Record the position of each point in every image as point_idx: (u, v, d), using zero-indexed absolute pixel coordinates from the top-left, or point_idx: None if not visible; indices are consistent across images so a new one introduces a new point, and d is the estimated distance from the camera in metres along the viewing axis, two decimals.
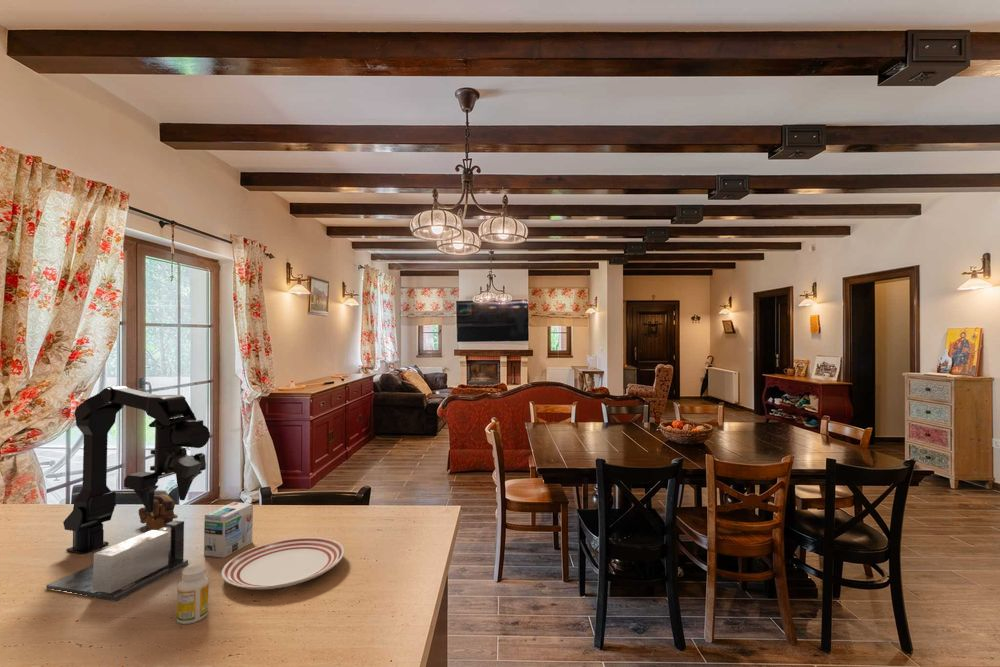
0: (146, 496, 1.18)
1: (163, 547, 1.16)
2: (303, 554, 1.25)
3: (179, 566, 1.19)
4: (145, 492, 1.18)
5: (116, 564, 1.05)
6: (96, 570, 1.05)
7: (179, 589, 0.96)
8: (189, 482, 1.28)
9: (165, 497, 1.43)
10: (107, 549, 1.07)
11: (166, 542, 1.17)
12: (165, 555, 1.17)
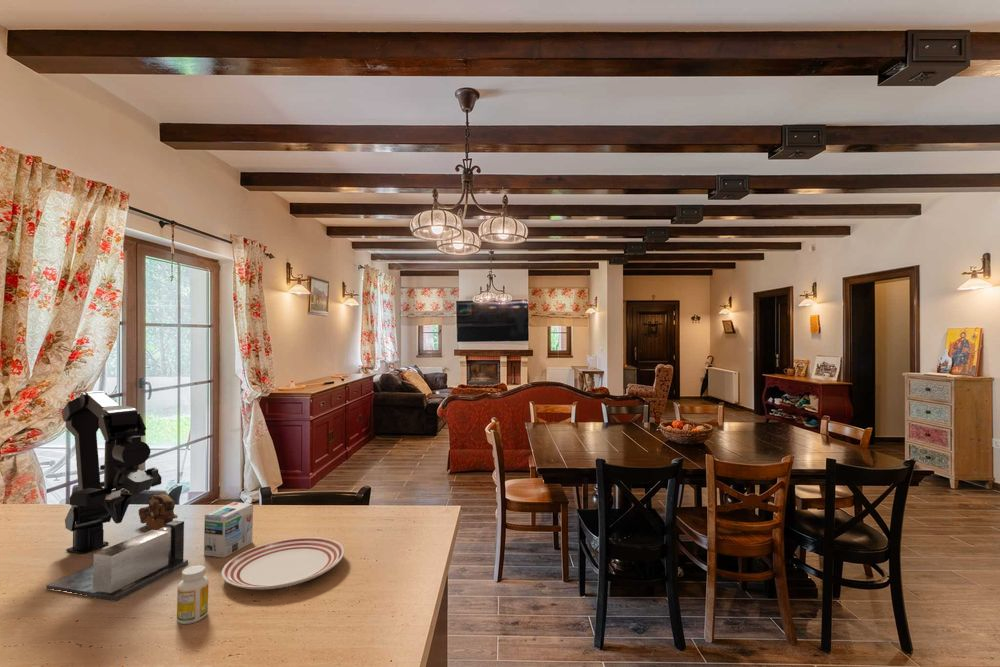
0: (113, 507, 1.18)
1: (163, 547, 1.16)
2: (303, 554, 1.25)
3: (179, 566, 1.19)
4: (112, 503, 1.18)
5: (116, 564, 1.05)
6: (96, 570, 1.05)
7: (179, 589, 0.96)
8: (126, 503, 1.20)
9: (165, 497, 1.43)
10: (107, 549, 1.07)
11: (166, 542, 1.17)
12: (165, 555, 1.17)
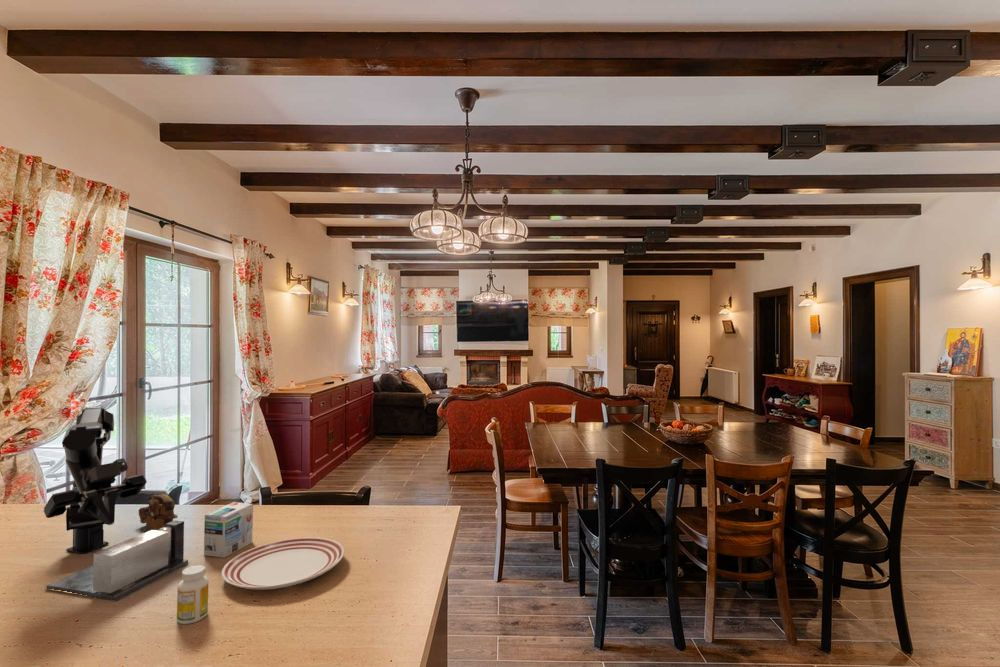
0: (98, 510, 1.13)
1: (163, 547, 1.16)
2: (303, 554, 1.25)
3: (179, 566, 1.19)
4: (96, 508, 1.14)
5: (116, 564, 1.05)
6: (96, 570, 1.05)
7: (179, 589, 0.96)
8: (111, 503, 1.15)
9: (165, 497, 1.43)
10: (107, 549, 1.07)
11: (166, 542, 1.17)
12: (165, 555, 1.17)
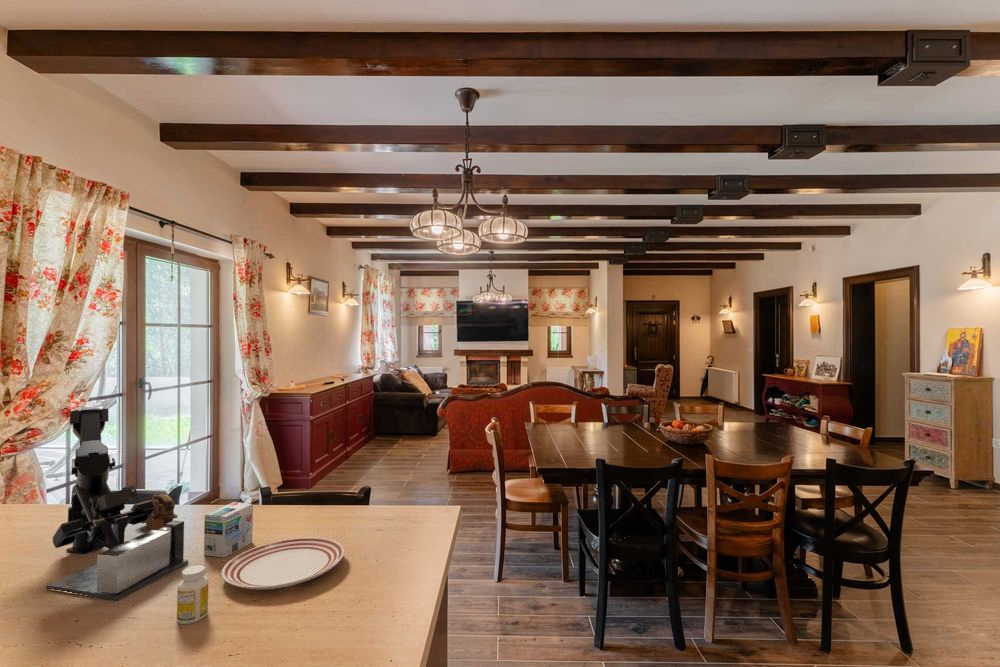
0: (107, 539, 1.11)
1: (165, 547, 1.17)
2: (303, 554, 1.25)
3: (179, 566, 1.19)
4: (105, 536, 1.11)
5: (122, 564, 1.05)
6: (100, 571, 1.05)
7: (179, 589, 0.96)
8: (121, 531, 1.13)
9: (165, 497, 1.43)
10: (110, 550, 1.07)
11: (167, 541, 1.17)
12: (166, 555, 1.17)
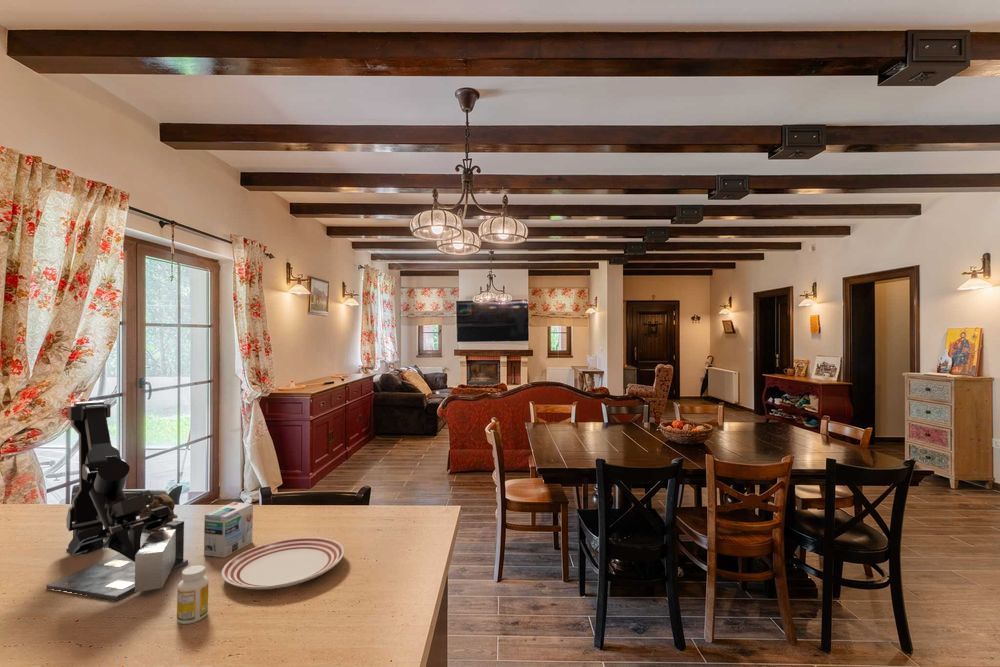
0: (123, 546, 1.08)
1: (174, 544, 1.18)
2: (303, 554, 1.25)
3: (179, 566, 1.19)
4: (121, 543, 1.09)
5: (163, 559, 1.08)
6: (140, 570, 1.05)
7: (179, 589, 0.96)
8: (137, 538, 1.10)
9: (165, 497, 1.43)
10: (142, 550, 1.07)
11: (175, 539, 1.19)
12: (174, 552, 1.19)
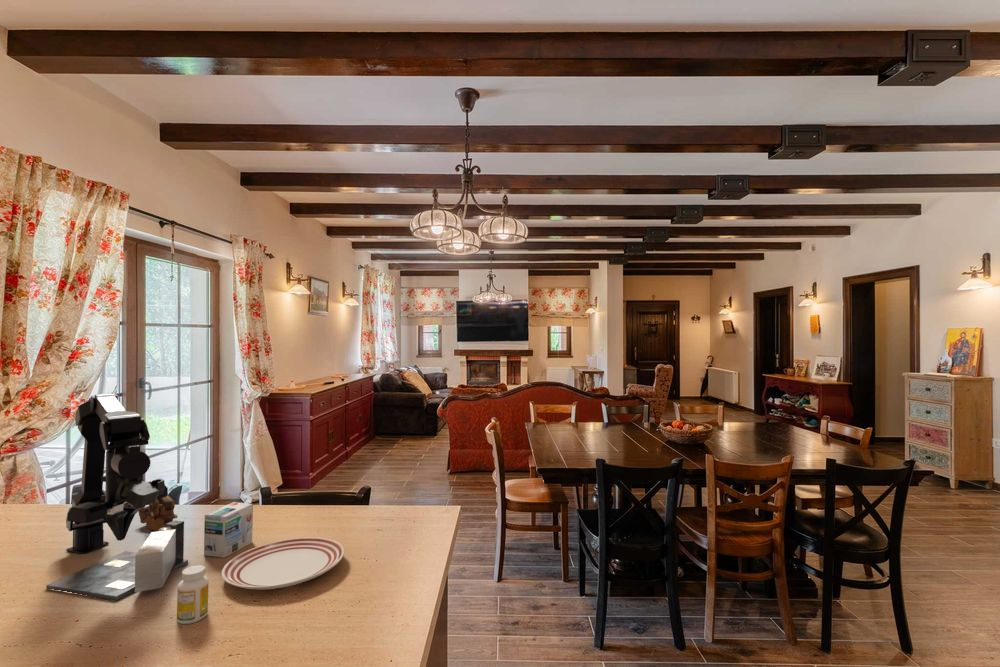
0: (115, 523, 1.07)
1: (174, 544, 1.18)
2: (303, 554, 1.25)
3: (179, 566, 1.19)
4: (114, 518, 1.08)
5: (163, 559, 1.08)
6: (140, 570, 1.05)
7: (179, 589, 0.96)
8: (130, 518, 1.10)
9: (165, 497, 1.43)
10: (142, 550, 1.07)
11: (175, 539, 1.19)
12: (174, 552, 1.19)
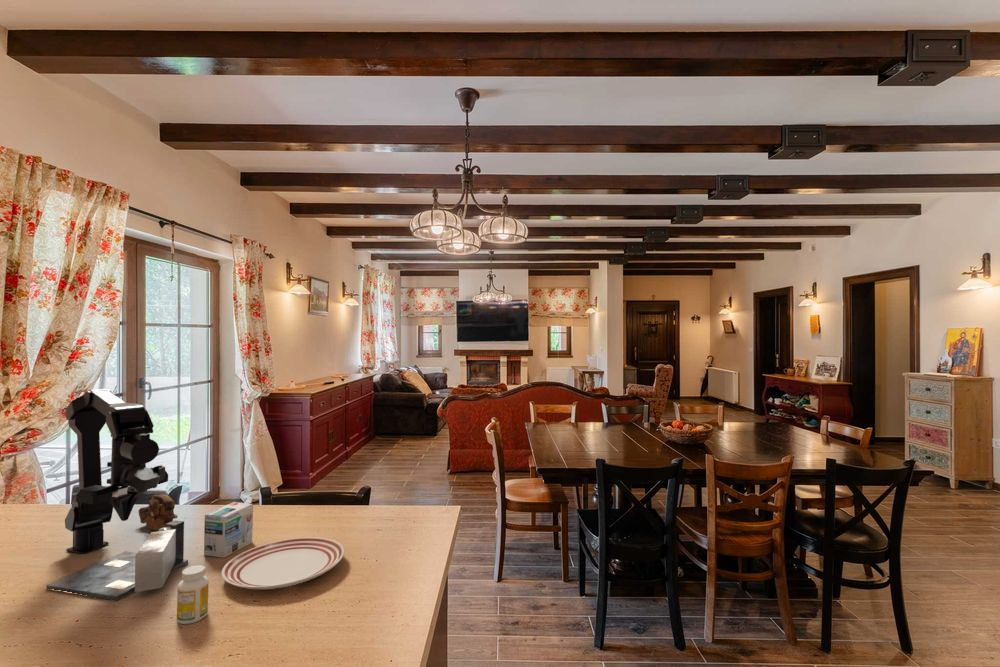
0: (119, 505, 1.17)
1: (174, 544, 1.18)
2: (303, 554, 1.25)
3: (179, 566, 1.19)
4: (118, 501, 1.17)
5: (163, 559, 1.08)
6: (140, 570, 1.05)
7: (179, 589, 0.96)
8: (133, 500, 1.19)
9: (165, 497, 1.43)
10: (142, 550, 1.07)
11: (175, 539, 1.19)
12: (174, 552, 1.19)
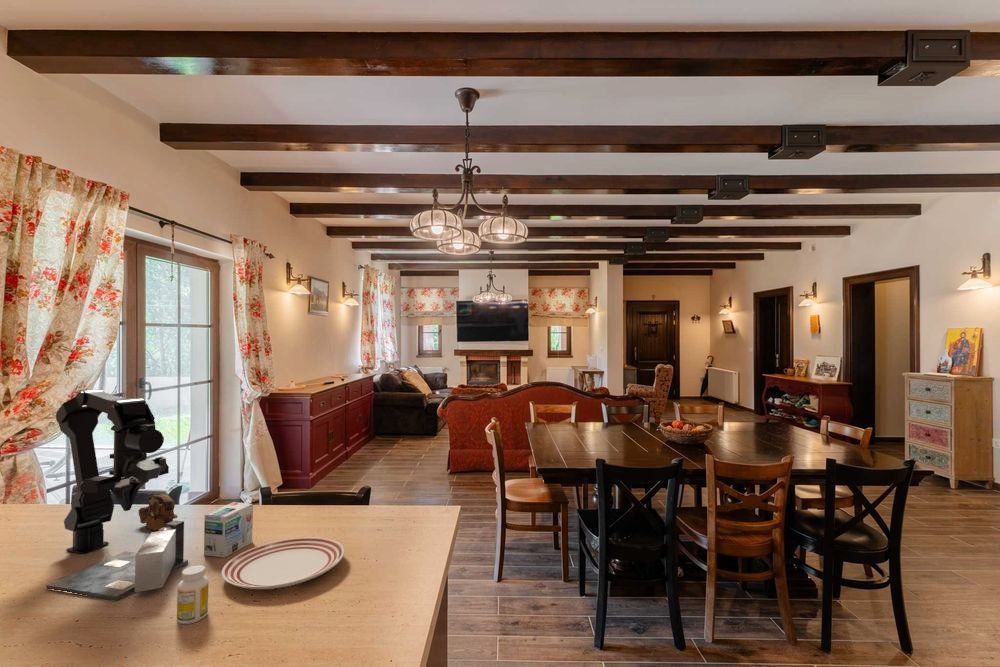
0: (122, 495, 1.21)
1: (174, 544, 1.18)
2: (303, 554, 1.25)
3: (179, 566, 1.19)
4: (121, 491, 1.21)
5: (163, 559, 1.08)
6: (140, 570, 1.05)
7: (179, 589, 0.96)
8: (135, 491, 1.23)
9: (165, 497, 1.43)
10: (142, 550, 1.07)
11: (175, 539, 1.19)
12: (174, 552, 1.19)
